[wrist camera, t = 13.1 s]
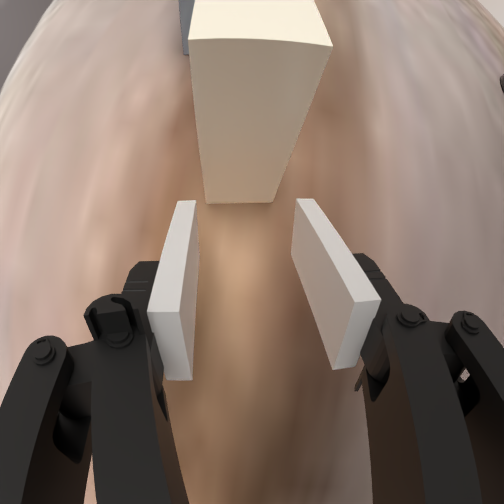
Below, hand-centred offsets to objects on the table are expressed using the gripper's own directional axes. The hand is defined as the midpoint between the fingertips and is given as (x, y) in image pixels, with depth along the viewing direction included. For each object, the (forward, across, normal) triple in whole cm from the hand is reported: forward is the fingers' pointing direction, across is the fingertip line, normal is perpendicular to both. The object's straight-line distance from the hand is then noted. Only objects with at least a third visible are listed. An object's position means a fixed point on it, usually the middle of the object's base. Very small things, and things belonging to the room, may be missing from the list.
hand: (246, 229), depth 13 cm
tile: (+10, 0, +3) cm, 11 cm away
